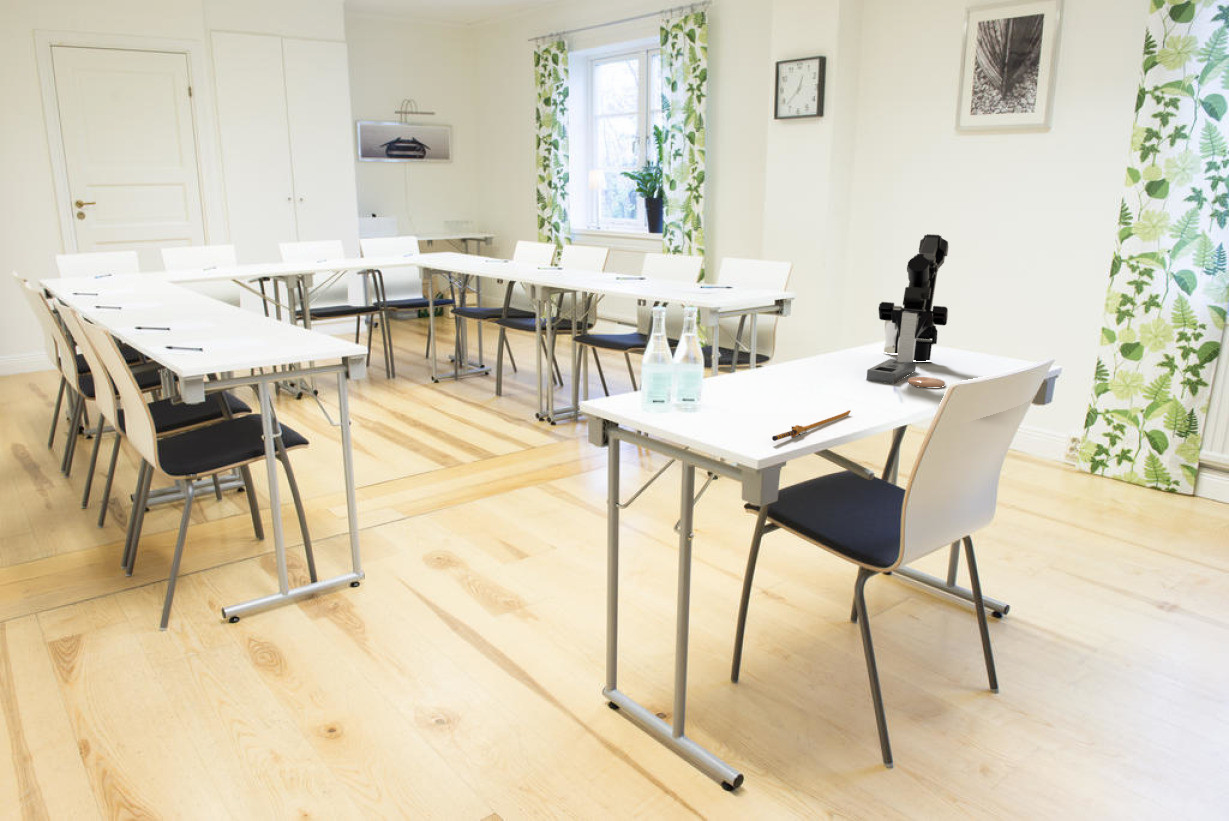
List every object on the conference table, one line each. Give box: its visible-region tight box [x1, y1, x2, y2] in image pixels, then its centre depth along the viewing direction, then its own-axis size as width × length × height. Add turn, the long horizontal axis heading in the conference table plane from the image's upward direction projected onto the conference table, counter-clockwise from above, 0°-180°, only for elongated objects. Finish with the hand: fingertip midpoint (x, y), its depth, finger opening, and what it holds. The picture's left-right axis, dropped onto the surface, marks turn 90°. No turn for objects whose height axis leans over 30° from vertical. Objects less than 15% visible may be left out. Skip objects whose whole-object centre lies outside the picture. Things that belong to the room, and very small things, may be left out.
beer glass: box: [883, 320, 900, 353], centre depth 287 cm, size 7×7×15 cm
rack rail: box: [866, 358, 917, 384], centre depth 256 cm, size 20×8×3 cm, turn 145°
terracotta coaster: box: [907, 376, 946, 388], centre depth 246 cm, size 10×10×1 cm
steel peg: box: [896, 311, 919, 362], centre depth 245 cm, size 4×4×14 cm
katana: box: [771, 409, 851, 442], centre depth 200 cm, size 1×35×3 cm, turn 138°
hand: (907, 336), depth 244 cm, fingers closed on steel peg, 4 cm apart
